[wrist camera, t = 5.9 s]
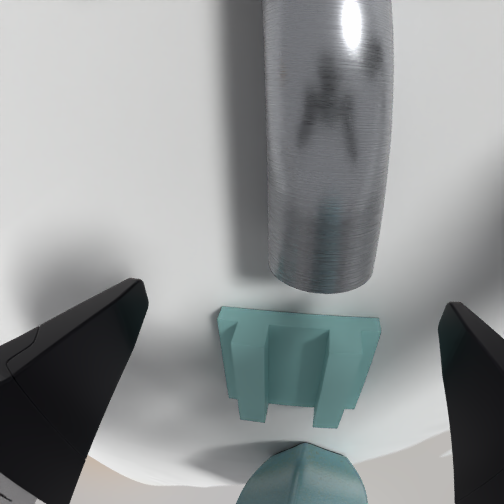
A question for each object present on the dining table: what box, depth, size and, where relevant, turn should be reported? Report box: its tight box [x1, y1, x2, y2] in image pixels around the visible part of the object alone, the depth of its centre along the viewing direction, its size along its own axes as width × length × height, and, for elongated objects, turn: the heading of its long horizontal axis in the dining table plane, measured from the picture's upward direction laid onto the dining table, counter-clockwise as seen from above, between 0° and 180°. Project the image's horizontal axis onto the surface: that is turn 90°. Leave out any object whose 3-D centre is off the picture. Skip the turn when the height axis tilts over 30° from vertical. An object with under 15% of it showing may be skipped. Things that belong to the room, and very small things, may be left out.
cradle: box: [217, 306, 381, 428], centre depth 16 cm, size 8×7×2 cm
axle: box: [262, 0, 394, 294], centre depth 8 cm, size 4×14×4 cm, turn 2°
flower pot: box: [236, 443, 368, 504], centre depth 20 cm, size 9×9×9 cm
